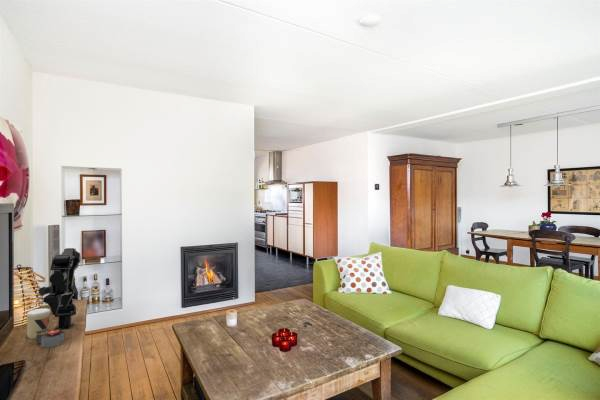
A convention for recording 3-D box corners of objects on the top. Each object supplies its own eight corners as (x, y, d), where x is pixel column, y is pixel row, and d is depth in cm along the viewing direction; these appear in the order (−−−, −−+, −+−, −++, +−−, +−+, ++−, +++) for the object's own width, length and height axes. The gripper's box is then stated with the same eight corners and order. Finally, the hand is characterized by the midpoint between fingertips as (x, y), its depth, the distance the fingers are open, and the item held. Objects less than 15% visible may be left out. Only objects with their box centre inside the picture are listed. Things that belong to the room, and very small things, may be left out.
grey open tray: (41, 340, 157) (42, 331, 157) (66, 339, 159) (67, 330, 159) (31, 348, 149) (31, 338, 149) (57, 347, 151) (58, 337, 151)
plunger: (49, 339, 156) (50, 328, 156) (60, 339, 157) (60, 328, 157) (44, 343, 151) (45, 332, 152) (55, 343, 152) (55, 332, 152)
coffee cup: (35, 340, 157) (37, 315, 157) (20, 337, 159) (21, 313, 159) (53, 332, 166) (55, 309, 166) (39, 330, 168) (40, 307, 168)
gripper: (53, 276, 169) (51, 306, 168) (31, 284, 151) (29, 318, 150) (77, 276, 171) (75, 305, 171) (58, 284, 153) (56, 318, 152)
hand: (59, 311), depth 161 cm, fingers open, 9 cm apart
